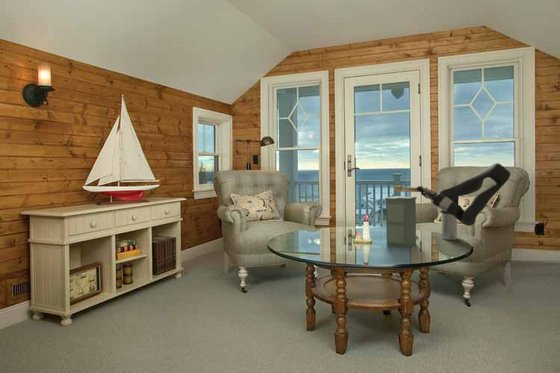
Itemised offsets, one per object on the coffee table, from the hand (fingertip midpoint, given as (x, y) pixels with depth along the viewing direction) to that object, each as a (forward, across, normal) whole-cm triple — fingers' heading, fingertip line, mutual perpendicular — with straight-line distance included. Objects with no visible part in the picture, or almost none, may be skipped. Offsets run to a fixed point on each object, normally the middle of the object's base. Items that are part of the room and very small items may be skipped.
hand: (418, 187), depth 252 cm
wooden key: (+3, 0, +5) cm, 6 cm away
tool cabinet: (-8, 0, +37) cm, 38 cm away
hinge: (-5, -17, +40) cm, 44 cm away
